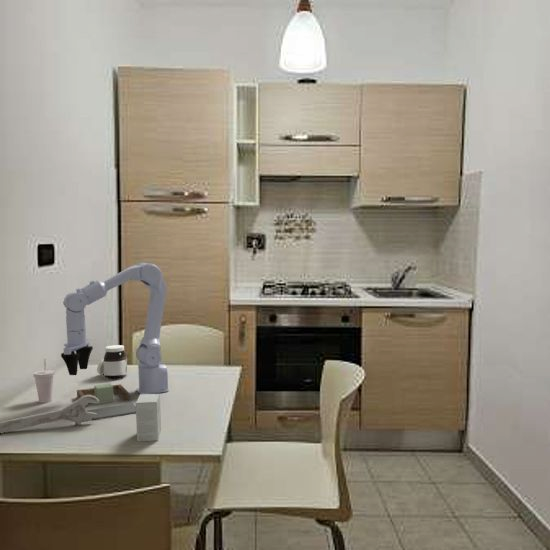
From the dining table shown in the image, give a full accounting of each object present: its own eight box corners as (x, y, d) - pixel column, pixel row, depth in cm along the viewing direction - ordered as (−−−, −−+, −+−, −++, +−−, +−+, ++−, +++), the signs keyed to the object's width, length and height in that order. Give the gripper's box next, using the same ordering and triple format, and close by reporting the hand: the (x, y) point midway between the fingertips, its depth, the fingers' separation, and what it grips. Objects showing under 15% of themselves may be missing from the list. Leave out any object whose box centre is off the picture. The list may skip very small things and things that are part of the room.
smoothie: (48, 404, 185) (46, 361, 184) (30, 403, 187) (28, 361, 186) (59, 399, 192) (57, 357, 191) (42, 398, 193) (40, 356, 192)
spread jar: (122, 380, 214) (121, 349, 214) (92, 380, 215) (90, 349, 214) (130, 372, 226) (129, 343, 226) (102, 372, 227) (100, 343, 226)
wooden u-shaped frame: (120, 391, 200) (120, 384, 199) (129, 400, 189) (128, 392, 189) (77, 397, 193) (76, 390, 193) (83, 407, 182) (82, 399, 182)
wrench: (-10, 443, 160) (102, 419, 168) (-12, 446, 158) (102, 421, 167) (-16, 415, 159) (97, 392, 167) (-17, 417, 157) (97, 394, 166)
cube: (110, 397, 192) (109, 383, 192) (113, 401, 188) (113, 386, 188) (94, 400, 190) (94, 385, 190) (97, 404, 186) (97, 388, 185)
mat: (132, 404, 184) (132, 403, 184) (139, 412, 176) (139, 410, 176) (86, 411, 177) (86, 410, 177) (92, 420, 169) (92, 418, 169)
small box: (140, 431, 159) (139, 393, 158) (161, 430, 160) (160, 393, 159) (136, 442, 151) (135, 402, 150) (158, 441, 152) (156, 401, 151)
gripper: (74, 326, 193) (76, 366, 194) (53, 334, 179) (55, 377, 180) (94, 326, 192) (96, 366, 193) (75, 334, 178) (77, 377, 179)
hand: (78, 371), depth 186 cm, fingers open, 7 cm apart
